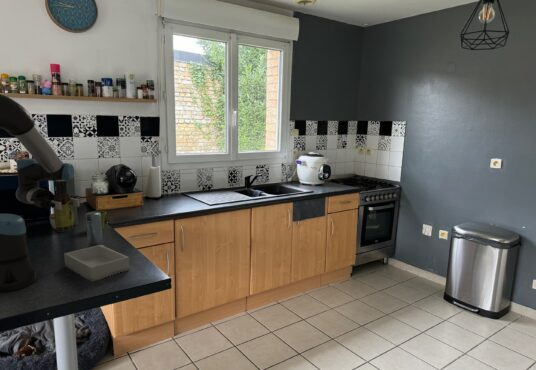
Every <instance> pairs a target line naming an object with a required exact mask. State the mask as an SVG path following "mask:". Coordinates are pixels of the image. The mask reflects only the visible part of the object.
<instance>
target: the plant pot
mask: <svg viewBox="0 0 536 370" xmlns="http://www.w3.org/2000/svg"><path fill="white" fill-rule="evenodd" d="M91 212H100V213H101V225H102V231H103V230H104V229H105V219H106V215H107V211H105V210H95V211H90V212H88V213H91Z"/></svg>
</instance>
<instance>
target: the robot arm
mask: <svg viewBox="0 0 536 370" xmlns="http://www.w3.org/2000/svg"><path fill="white" fill-rule="evenodd" d="M0 129H2V130H4V131H6V132H7V134H9V135H11V136H13V137H15V138H16V139H17V140H18V141H19V143H20V144H21V145H22V146H23V147H24V149H25V150H26V151H27V152H28V153H29V154H30V155H31V156H32V157H33V158H20V159H19V158H18V159H17V160H16V171H17V172H16V173H17V181H18V188H17V189H16V191H15V197H16V199H17V201H20V202H22V203H24V204H27V205H30V206H34V207H37V208H40V209H45V208H46V209H47V210H51V209H54V208H55V209H58V210H62V205H61V202H57V201H53V198H54V196H55V194H54V193H53V192H52V191H51V190H49V189H46V188H40V182H45V181H46V182H53V181H54V182H55V181H56V180H66V181H67V180H71V179H73V177H74V178H75V167H74V165H73V164H71V163H70V162H69V163H67V162H64V161H62V160H61V158H60V157H59V155H58V154H57V153H56V151H55V150H54V149H53V147H52V146H51V145H50V143H49V142H48V141H47V139H46V138H45V137H44V136H43V134H42V133H41V131H40V130H39V129H38V128H37V126H36V120H35V118H34V117H33V115H32V114H31V113H30V112H29V111H28V110H27V109H26V108H25V107H24V106H23V105H21V104H20V103H19V102H17V101H16V100H14V99H12V98H11V97H9V96H7V95H4V94H1V93H0ZM70 197H71V201H72V205H73V206H77V208H78V207H80V206H81V205H80V199H79V198H77V196H70ZM27 237H28V236H27V227H26V224H25V220H24V218H23V217H21V216H20V215H17V214H14V213H0V293H6V292H12V291H16V290H19V289H24V288H26V287H28V286H30V285H32V284H34V283H35V282H36V280H37V272H36V270H35V268H34V267H33V264H32V263H31V260H30V258H29V250H28V240H27Z"/></svg>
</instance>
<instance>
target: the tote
mask: <svg viewBox="0 0 536 370" xmlns="http://www.w3.org/2000/svg"><path fill="white" fill-rule="evenodd" d="M63 255H64V256H63V258H64V267H66V268H67V269H69V270H71V271H73V272H75V273H76V274H78V275H79V274H80V275H79V276H81V277H83V278H85V279H87V280H88V281H90V282H91V283H92V282H93V283H94V282H95V281H99V280H102V279H105V277H106V278H108V276H109V277H112V276H115V275H118V274H117V273H119V274H121V273H120V272H122V273H124V271H125V272H127V270H128V271H130V256H127V255H125V254H123V253H121V252H118V251H116V250H113V249H112V248H109V247H107V246H105V245H103V246H102V245H97V246H93V247H89V248H88V247H85V248H81V249H78V250H72V251H68V252H64V254H63ZM114 274H115V275H114ZM111 275H112V276H111Z"/></svg>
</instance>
